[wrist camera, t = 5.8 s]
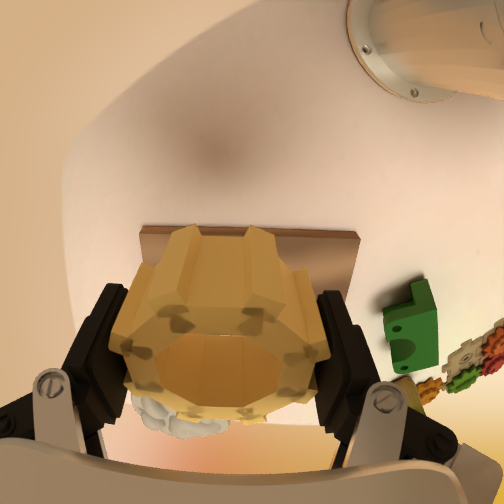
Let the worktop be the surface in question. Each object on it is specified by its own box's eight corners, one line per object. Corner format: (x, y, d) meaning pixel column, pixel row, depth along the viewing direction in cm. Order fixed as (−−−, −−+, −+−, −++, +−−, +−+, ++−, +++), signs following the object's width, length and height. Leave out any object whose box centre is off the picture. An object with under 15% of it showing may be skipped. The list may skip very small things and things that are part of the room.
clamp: (377, 279, 37) (379, 308, 29) (420, 267, 35) (434, 293, 27) (393, 356, 39) (395, 396, 31) (433, 346, 36) (443, 385, 28)
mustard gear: (127, 222, 10) (85, 284, 7) (322, 227, 11) (352, 293, 7) (153, 352, 14) (138, 417, 11) (296, 357, 14) (306, 423, 11)
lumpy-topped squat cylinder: (177, 399, 42) (170, 449, 35) (123, 346, 36) (105, 401, 29) (239, 386, 41) (239, 440, 33) (191, 326, 34) (181, 388, 27)
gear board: (143, 226, 28) (119, 267, 22) (355, 231, 29) (382, 273, 23) (158, 322, 34) (146, 369, 28) (332, 324, 35) (347, 370, 29)
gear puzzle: (405, 411, 50) (411, 427, 46) (397, 373, 42) (405, 393, 39) (526, 340, 43) (535, 353, 40) (539, 288, 36) (551, 301, 32)
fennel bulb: (405, 369, 41) (431, 432, 31) (419, 376, 43) (443, 435, 32) (377, 389, 43) (397, 452, 33) (392, 396, 45) (412, 454, 35)
